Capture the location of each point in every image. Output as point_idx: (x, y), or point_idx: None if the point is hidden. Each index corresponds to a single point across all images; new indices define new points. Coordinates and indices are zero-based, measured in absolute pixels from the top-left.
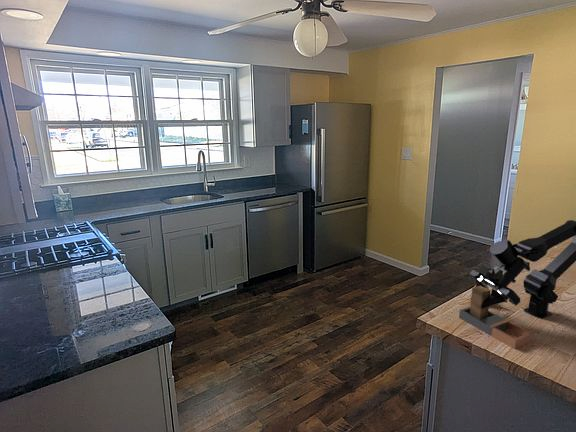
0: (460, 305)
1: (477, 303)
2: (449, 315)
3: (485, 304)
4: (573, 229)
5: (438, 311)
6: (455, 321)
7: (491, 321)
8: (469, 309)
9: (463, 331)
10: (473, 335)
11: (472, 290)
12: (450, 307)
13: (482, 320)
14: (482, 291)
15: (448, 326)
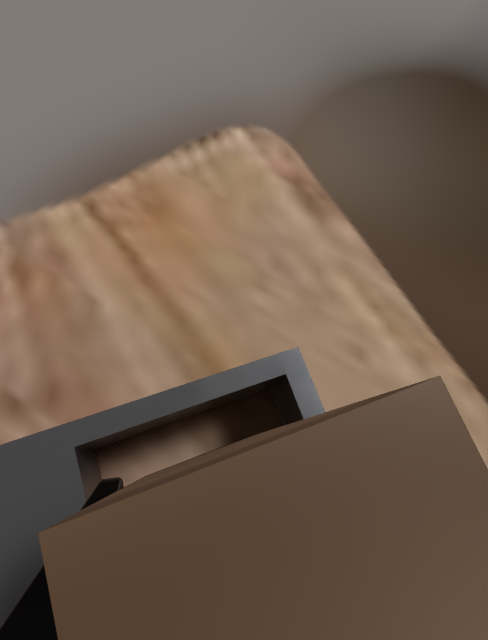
0: None
1: (190, 462)
2: (313, 311)
3: None
4: None
5: (371, 266)
6: (224, 307)
7: (4, 564)
8: None
9: (79, 286)
10: (3, 327)
11: (386, 393)
12: None
13: (56, 460)
14: (140, 597)
15: (167, 224)
